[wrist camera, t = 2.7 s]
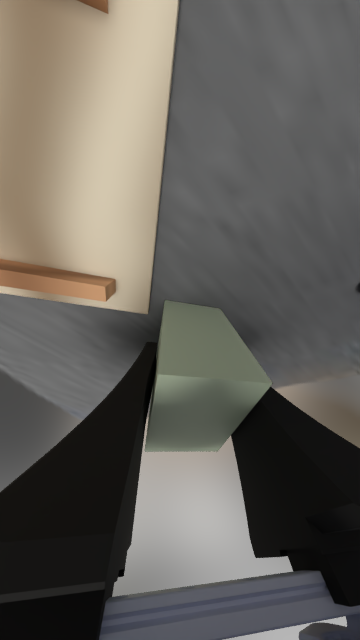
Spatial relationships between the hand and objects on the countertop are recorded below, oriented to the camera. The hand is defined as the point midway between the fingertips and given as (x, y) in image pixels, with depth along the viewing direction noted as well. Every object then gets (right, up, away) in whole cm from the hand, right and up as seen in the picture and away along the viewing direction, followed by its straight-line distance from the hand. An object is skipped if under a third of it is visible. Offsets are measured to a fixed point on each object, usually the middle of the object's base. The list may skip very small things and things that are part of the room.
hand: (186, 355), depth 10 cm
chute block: (0, +1, +2) cm, 2 cm away
